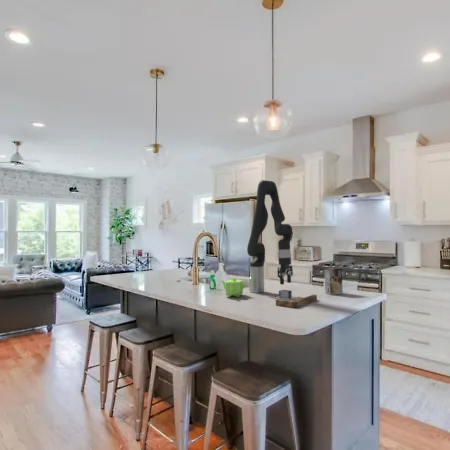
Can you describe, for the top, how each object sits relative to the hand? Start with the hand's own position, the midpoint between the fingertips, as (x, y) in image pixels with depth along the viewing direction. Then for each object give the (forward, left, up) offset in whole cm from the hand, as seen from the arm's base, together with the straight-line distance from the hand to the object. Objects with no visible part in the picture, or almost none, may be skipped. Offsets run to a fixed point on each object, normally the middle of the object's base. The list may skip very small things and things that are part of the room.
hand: (285, 283), depth 206 cm
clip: (0, 0, -8) cm, 8 cm away
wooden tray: (+12, -8, -9) cm, 17 cm away
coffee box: (+18, +30, -9) cm, 36 cm away
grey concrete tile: (0, 0, -9) cm, 9 cm away
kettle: (-30, -13, -9) cm, 34 cm away
